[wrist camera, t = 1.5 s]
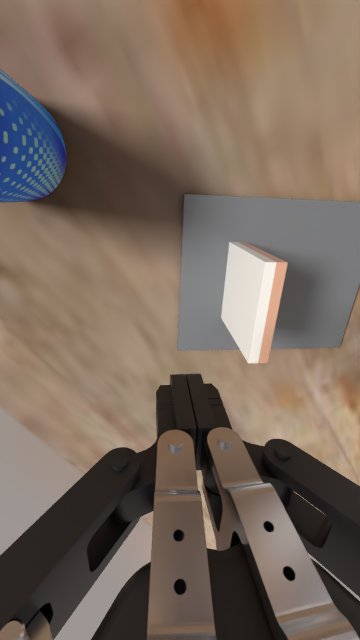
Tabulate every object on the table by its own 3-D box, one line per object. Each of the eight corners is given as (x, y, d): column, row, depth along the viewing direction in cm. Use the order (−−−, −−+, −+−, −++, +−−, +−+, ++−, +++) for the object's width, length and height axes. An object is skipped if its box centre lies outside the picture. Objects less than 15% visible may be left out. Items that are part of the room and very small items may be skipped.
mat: (184, 194, 28) (184, 194, 27) (380, 203, 30) (385, 203, 30) (177, 348, 35) (178, 350, 35) (336, 345, 38) (339, 347, 37)
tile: (229, 241, 30) (265, 262, 21) (245, 242, 30) (287, 262, 21) (220, 317, 34) (248, 363, 24) (235, 317, 34) (267, 362, 25)
